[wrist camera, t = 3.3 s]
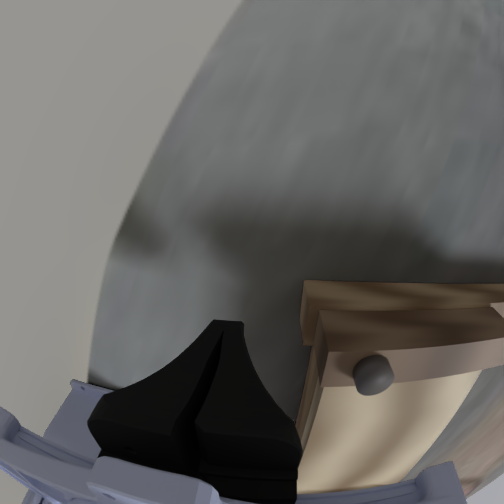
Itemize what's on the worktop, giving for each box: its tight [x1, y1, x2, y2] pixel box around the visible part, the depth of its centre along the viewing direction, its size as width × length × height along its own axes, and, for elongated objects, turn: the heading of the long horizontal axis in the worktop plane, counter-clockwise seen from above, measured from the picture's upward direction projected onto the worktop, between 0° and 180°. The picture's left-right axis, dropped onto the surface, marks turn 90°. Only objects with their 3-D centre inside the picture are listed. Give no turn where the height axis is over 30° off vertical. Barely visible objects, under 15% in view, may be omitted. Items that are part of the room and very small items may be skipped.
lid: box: [297, 370, 482, 494], centre depth 15 cm, size 10×16×3 cm, turn 179°
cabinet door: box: [314, 307, 504, 396], centre depth 12 cm, size 11×2×4 cm, turn 89°
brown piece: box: [295, 280, 504, 440], centre depth 17 cm, size 24×19×3 cm
